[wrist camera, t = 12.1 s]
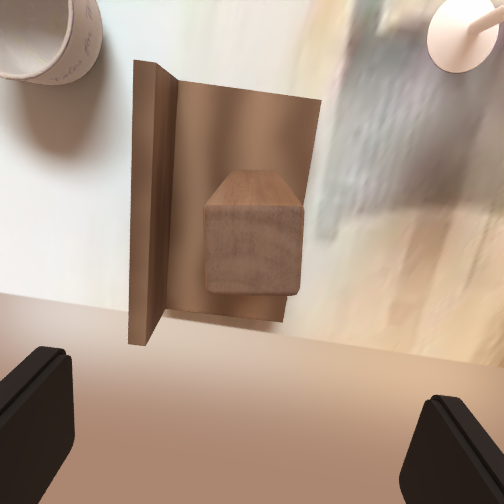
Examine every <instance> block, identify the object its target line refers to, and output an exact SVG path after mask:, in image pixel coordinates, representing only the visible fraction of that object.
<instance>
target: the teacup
mask: <svg viewBox="0 0 504 504" xmlns="http://www.w3.org/2000/svg"><path fill="white" fill-rule="evenodd" d="M102 35H103V31H102V20H101V14H100V10H99V7H98V4H97V2H96V0H0V77H1V78H5V79H10V80H21V81H26V82H31V83H36V84H43V85H63V84H67V83H71V82H74V81H76V80H78V79H79V78H81V77H82V76H84V75H85V74H86V73H87V72H88V71H89V70H90V69H91V67H92V66H93V65H94V63H95V61H96V59H97V57H98V55H99V52H100V48H101V44H102Z"/></svg>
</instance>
